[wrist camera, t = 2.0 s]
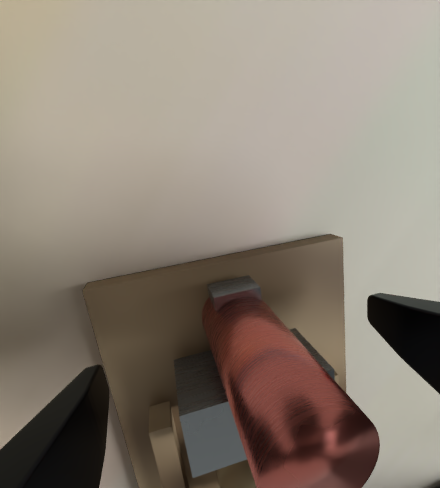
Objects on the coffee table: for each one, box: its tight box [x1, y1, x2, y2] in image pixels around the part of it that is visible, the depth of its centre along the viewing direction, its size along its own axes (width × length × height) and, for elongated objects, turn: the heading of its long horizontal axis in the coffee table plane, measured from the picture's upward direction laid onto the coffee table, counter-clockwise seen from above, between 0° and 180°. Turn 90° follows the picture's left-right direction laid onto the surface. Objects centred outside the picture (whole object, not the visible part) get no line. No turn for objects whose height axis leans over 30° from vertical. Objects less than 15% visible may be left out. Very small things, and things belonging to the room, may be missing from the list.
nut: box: [216, 460, 257, 488], centre depth 11 cm, size 3×3×3 cm
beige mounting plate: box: [82, 234, 346, 488], centre depth 11 cm, size 14×10×5 cm
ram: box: [174, 275, 380, 488], centre depth 8 cm, size 5×5×6 cm
